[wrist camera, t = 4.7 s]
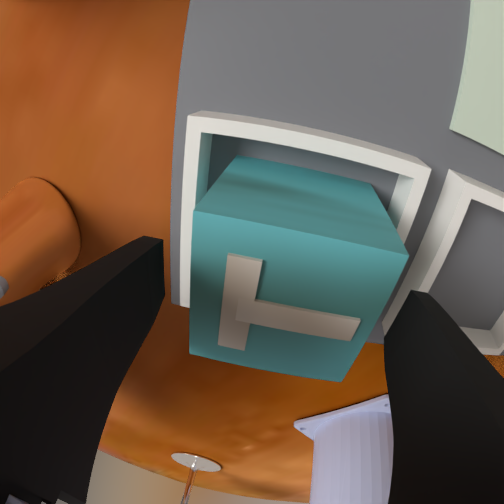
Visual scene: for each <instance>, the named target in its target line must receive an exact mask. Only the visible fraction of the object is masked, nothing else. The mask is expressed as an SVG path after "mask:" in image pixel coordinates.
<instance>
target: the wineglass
mask: <svg viewBox="0 0 504 504" xmlns="http://www.w3.org/2000/svg"><path fill="white" fill-rule="evenodd" d="M171 456H172V458H173V459H174V460H175V461H177V462H178V463H180V464H182V465H185V466H187V467H190V472H189V476H188V480H187V484H186V487H185V491H184V495H183V497H182V501H181V504H188V500H189V497H190V493H191V490H192V486H193V483H194V479H195V476H196V473H197V471H198V470H202V471H210V472H214V471H219V470H220V469H221V466H220V465H219V464H218V463H217V462H215V461H213V460H211V459H208V458H205V457H202V456H199V455H195V454H191V453H185V452H174V453H172V455H171Z"/></svg>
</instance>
